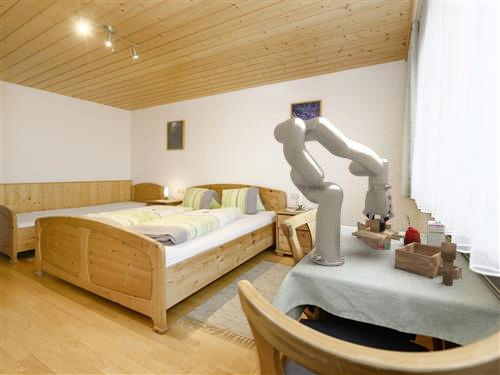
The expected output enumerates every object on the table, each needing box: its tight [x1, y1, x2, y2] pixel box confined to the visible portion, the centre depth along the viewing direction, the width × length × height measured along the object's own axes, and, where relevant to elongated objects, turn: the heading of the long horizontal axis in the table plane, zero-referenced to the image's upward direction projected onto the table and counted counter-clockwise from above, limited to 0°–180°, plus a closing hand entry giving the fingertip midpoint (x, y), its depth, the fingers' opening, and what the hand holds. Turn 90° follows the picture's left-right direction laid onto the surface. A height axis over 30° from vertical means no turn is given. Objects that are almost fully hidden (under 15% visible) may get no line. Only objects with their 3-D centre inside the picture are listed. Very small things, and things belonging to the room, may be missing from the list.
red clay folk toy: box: [403, 214, 422, 246], centre depth 122 cm, size 8×7×15 cm
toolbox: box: [394, 242, 463, 280], centre depth 93 cm, size 16×17×7 cm
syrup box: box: [426, 220, 446, 247], centre depth 107 cm, size 6×6×14 cm
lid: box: [351, 218, 405, 242], centre depth 107 cm, size 16×17×7 cm
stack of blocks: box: [356, 218, 392, 251], centre depth 127 cm, size 21×6×12 cm, turn 1°
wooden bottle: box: [441, 241, 457, 287], centre depth 81 cm, size 4×4×13 cm
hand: (377, 230), depth 110 cm, fingers closed on lid, 3 cm apart
